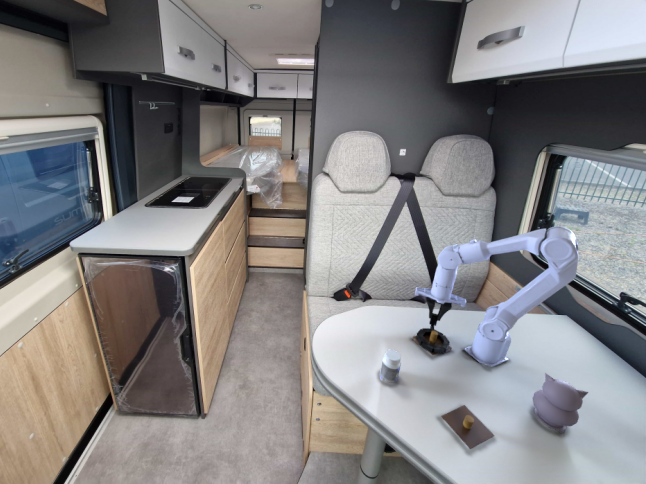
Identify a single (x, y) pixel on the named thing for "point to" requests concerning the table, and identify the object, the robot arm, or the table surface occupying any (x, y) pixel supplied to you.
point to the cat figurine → (558, 403)
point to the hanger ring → (427, 331)
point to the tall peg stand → (431, 341)
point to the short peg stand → (467, 426)
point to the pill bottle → (390, 366)
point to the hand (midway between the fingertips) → (434, 317)
